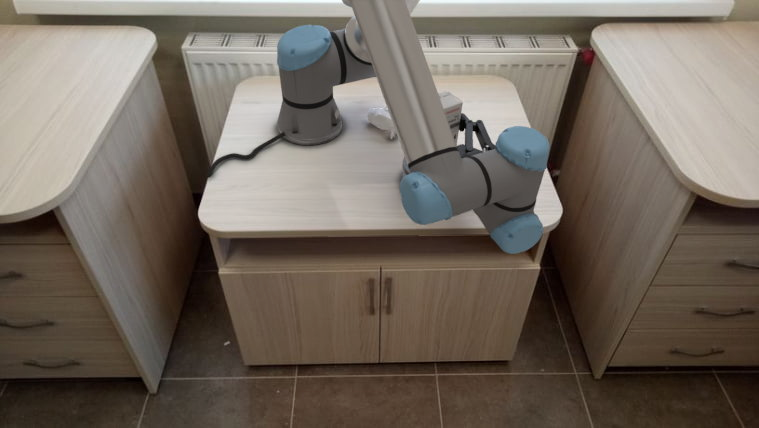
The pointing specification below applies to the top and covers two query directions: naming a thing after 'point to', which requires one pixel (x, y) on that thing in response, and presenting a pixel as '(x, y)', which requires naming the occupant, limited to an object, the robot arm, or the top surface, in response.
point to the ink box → (452, 111)
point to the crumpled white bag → (381, 119)
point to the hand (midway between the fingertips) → (426, 112)
